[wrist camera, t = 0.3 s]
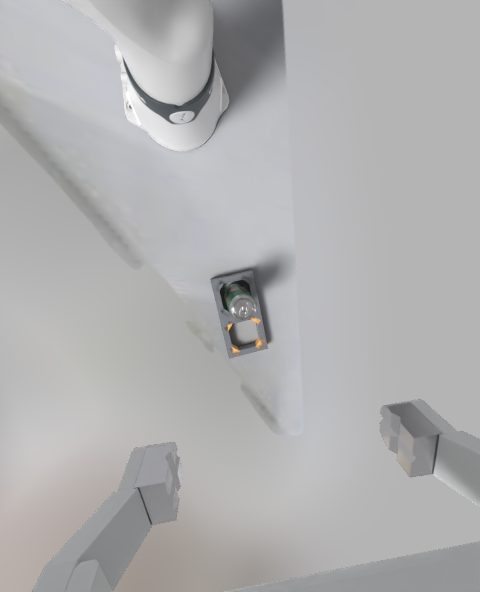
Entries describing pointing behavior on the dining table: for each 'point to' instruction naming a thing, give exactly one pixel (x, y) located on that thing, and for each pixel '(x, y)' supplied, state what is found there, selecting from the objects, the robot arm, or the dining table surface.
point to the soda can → (239, 302)
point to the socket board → (229, 320)
